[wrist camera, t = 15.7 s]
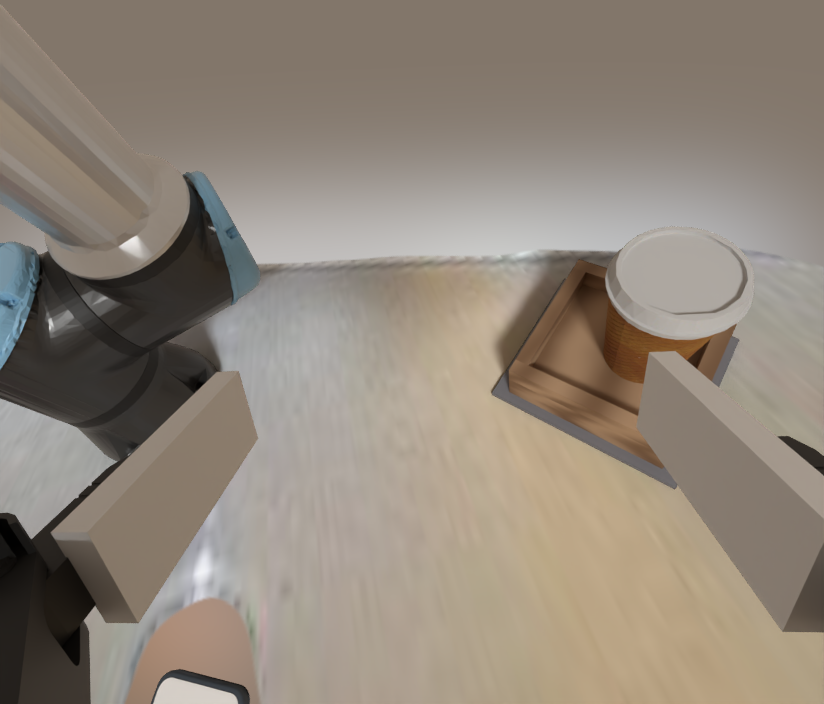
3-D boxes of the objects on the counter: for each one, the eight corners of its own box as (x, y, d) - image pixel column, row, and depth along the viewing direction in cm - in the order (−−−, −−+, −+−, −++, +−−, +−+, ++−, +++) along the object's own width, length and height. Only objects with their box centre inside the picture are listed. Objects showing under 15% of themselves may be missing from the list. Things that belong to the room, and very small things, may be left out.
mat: (491, 394, 44) (491, 393, 44) (564, 280, 50) (564, 278, 49) (674, 489, 36) (676, 488, 36) (737, 341, 42) (739, 339, 41)
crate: (509, 392, 44) (508, 369, 39) (573, 288, 48) (578, 259, 44) (662, 469, 37) (680, 452, 33) (718, 340, 42) (741, 311, 38)
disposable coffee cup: (568, 372, 40) (587, 296, 30) (608, 300, 43) (637, 208, 33) (676, 419, 36) (739, 349, 26) (711, 335, 39) (780, 243, 29)
